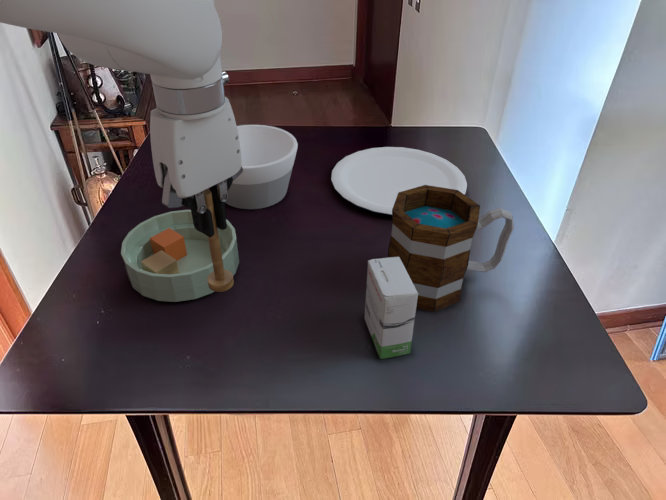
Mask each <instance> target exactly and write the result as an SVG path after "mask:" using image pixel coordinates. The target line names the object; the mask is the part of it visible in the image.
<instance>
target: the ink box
mask: <svg viewBox="0 0 666 500" xmlns="http://www.w3.org/2000/svg"><path fill="white" fill-rule="evenodd" d="M417 298H418V292H417V290H416V289H415V287H414V285H413V283H412V281H411V279H410V277H409V275H408V273H407V271H406V269H405V267H404V265H403V263H402V261H401V259H400V257H388V256H387V257H382V258H372V259H368V260H367V274H366V287H365V305H364V321H365V324H366V326H367V329H368V332H369V335H370V337H371V339H372V342H373V344H374V347H375V350H376V352H377V354H378V357H379V359H380V360H384V359H389V358H391V359H392V358H396V357H401V356H405V355H409V354H411V348H412V342H413V335H414V329H415V328H414V327H415V319H416V312H417V308H416V306H417Z"/></svg>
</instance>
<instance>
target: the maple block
mask: <svg viewBox="0 0 666 500" xmlns="http://www.w3.org/2000/svg"><path fill="white" fill-rule="evenodd" d="M141 265H142V269H143V270H144V271H147V272H151V273H155V274H178V273H179V270H178V265H177V261H176V260H175V259H174V258H172V257H171V256H169V255H168V254H167V253H165V252H164V251H162V250H161V251H159V252H157V253H155V254H154V255H152V256H150V257H148V258H146V259H144V260H143V261H141Z"/></svg>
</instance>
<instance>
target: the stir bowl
mask: <svg viewBox="0 0 666 500" xmlns="http://www.w3.org/2000/svg"><path fill="white" fill-rule="evenodd" d="M226 223H227V228H226V229H224V230H221V229H219V228H217V230H218V236H219V242H220V248H221V255H222V261H223V267H224V270H228V271H230V272H231V273H232V274H233V277H234V276H235V275H236V273H237V270H238V267H239V264H240V258H239V257H240V256H239V250H238V240H237V234H236V228H235V227H234V226H233V225H232V223H231V222H230V221H229V220H228V219H227V218H226ZM168 228H170V229H172V230H173V231H175V232H177V233H178V234H180V235H182V236H183V237H184V241H185V246H186V251H187V255H186V256H185V257H183V258H181V259H180V260H178V261H177V265H178V270H179V273H178V274H155V273H151V272H147V271H144V270H143V269H142V265H141V261H143V260H144V259H146V258H148V257H150V256H152V255H154V253H153V249H152V245H151V241H150V238H151V237H153V236H155V235H157V234H159V233H160V232H162V231H164V230H166V229H168ZM120 256H121V258H122V262H123V266H124V269H125V273H126V275H127V278H128V281H129V283H130V285H131V287H132V289H134V290H135V291H136V292H137V293H139V294H140V295H141V296H142V297H146V298H148V299H152V300H155V301H158V302H170V303H179V302H186V301H191V300H197V299H200V298H203V297H205V296H208V295H211V294H213V293H215V291H212V290H211V289H210V288H209V286H208V281H207V278H208V276H209V274H210V273H212V272H214V269H213V263H212V258H211V252H210V246H209V241H208V236H206V235H205V234H203V233H202V232H199V231H197V230H196V229H195V227H194V224H193V219H192V213H191V209H182V210H181V209H180V210H173V211H168V212H164V213H161V214H158V215H153V216H152V217H150V218H148V219H145V220H144V221H142V222H139V224H137V225H136V226H135V227H133V228H132V229H131V230H130V231H129V232H128V233H127V234H126V235H125V237H124V238H123V241H122V242H121V248H120Z"/></svg>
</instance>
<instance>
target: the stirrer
mask: <svg viewBox="0 0 666 500" xmlns="http://www.w3.org/2000/svg"><path fill="white" fill-rule="evenodd" d="M203 193H204V197H205V202H206V207H207V209H209V210H210V211H211V213H212V220H213V226H214V233H215V234H214V236H212V237H208V241H209V246H210V252H211V258H212V263H213V269H214V272H212V273H210V274H209V276H208V278H207V281H208V286H209V288H210V289H211V290H212V291H214V293H215V292H216V293H223V292H226V291H227V292H228V291H229V290H231V288H232V287H233V286H234V283H235V280H234V276H233V274H232V273H231V272H230V271H228V270H224V267H223V261H222V255H221V248H220V242H219V236H218V230H217V224H216V218H215V211H214V205H213V199H212V193H211V191H210V190H207V189H205V190H203Z"/></svg>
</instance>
